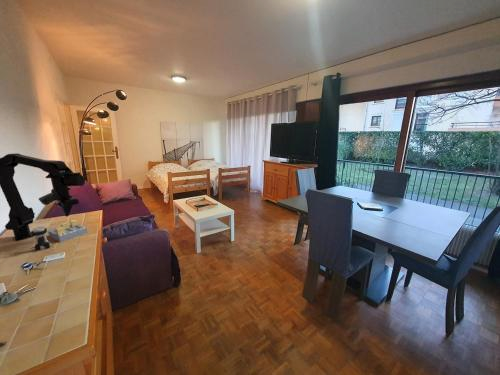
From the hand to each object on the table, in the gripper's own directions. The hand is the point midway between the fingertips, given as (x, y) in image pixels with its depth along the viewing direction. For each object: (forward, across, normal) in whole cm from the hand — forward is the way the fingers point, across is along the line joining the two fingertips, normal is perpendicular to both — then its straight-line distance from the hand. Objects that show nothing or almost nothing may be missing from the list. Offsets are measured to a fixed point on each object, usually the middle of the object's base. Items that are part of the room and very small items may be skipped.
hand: (67, 216), depth 108 cm
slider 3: (+8, -5, +4) cm, 10 cm away
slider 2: (+8, -5, 0) cm, 9 cm away
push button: (+11, +5, -13) cm, 18 cm away
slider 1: (+8, +1, -4) cm, 9 cm away
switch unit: (+11, -3, 0) cm, 11 cm away
